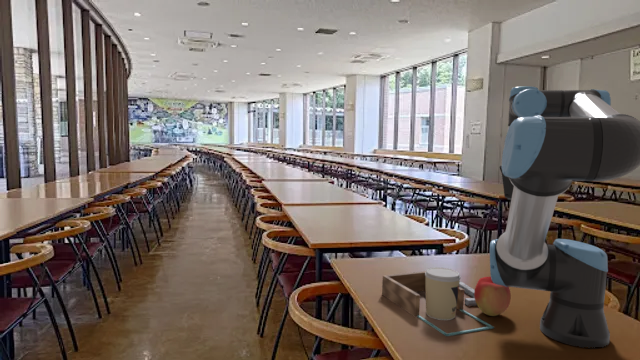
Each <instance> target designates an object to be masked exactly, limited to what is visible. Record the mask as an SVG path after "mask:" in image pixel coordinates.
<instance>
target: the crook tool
mask: <svg viewBox="0 0 640 360" xmlns="http://www.w3.org/2000/svg"><path fill="white" fill-rule="evenodd" d="M459 287H460V288H462V289H464V294H466V295H467V296H469V297H466V298H465V297H464V304H465V305H466V306H467V307H474V306H475V307H478V305H477V304H476V301H475V297H474V292H475V288H473V287H470V286H469V285H468V284H466V283H465V282H463V281H461V280H460V282H459Z"/></svg>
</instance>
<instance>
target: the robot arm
mask: <svg viewBox="0 0 640 360" xmlns="http://www.w3.org/2000/svg"><path fill="white" fill-rule="evenodd" d="M610 95H611V94H610V92H609V91H608V90H603V89H596V88H595V89H594V88H593V89H576V90H575V89H573V90H572V89H568V90H564V89H563V90H562V89H561V90H560V89H559V90H558V89H555V90H554V89H553V90H551V89H549V90H547V89H545V90H544V89H542V90H541V89H539V88H538V87H535V86H531V85H527V86H524V85H523V86H515V87H514V86H513V87H512V88H511V89H510V91H509V98H508V103H509V104H508V119H507V120H508V124H507V132H506V134H505V140H504V145H503V146H504V147H503V150H502V156H501V165H500V166H499V170H500V172H501V177H502V178H501V179H502V186H503V193H504V194H503V195H504V198H505V199H507V200H508V201H509V211H508V217H507V221H506V228H505V231H504V232H503V233H502V234H501V235H500V236H499V237H498V238H496V239H492V240H491V241H490V243H489V269H490V271H489V272H490V277H491V280H492V282H493V283H495V284H497V285H502V286H505V287H509V288H518V289H526V290H527V289H528V290H535V291H543V292H550V293H549V294H550V295H549V301H548V303H547V305H546V307H545V310H544V311H543V314H542V316H541V317H540V321H539V330H540V331H541V333H542V334H544V335H545V336H547V337H549V338H550V339H552V340H554V341H557V342H560V343H562V344H566V345H569V346H573V347H577V346H579V347H578V348H584V347H588V348H587V349H596V348H595V347H602V348H605V347H607V346H608V345H609V344H610V338H611V337H610V336H611V332H610V330H609V327H608V323H607V321H608V320H607V318H606V315H605V314H606V313H605V311H604V310H605V308H604V306H605V296H606V289H607V288H606V286H607V275H608V272H609V268H608V265H609V264H608V263H609V262H608V254H607V253H606V252H605V251H604V250H603V249H602V248H599V247H597V246H595V245H593V244H592V245H591V244H589V243H585V242H582V241H578V240H572V239H569V238H568V239H566V238H556V239H554V240H553V243H552V244H547V242H546V238H547V235H548V231H549V228H550V225H551V222H552V218H553V215H554V211H555V208H556V205H557V202H558V199H559V198H558V197H559V195H562V194H564V193H566V191H567V190H568V189H570V187H571V185H572V184H573V181H576V182H577V181H579V182H581V181H582V182H607V181H612V180H616V179H619V178H622V177H624V176H627V175H628V174H630V173H632V172H633V171H635V170H636V169H637V168H639V167H640V120H639V119H638V118H636V117H634V116H632V115H629V114H627V113H620V112H619V111H617V110H616V109H614V108H613V107H612V106H611V105H612V104H611V103H612V98H611V96H610ZM606 345H607V346H606ZM604 346H605V347H604ZM590 347H592V348H590ZM593 347H594V348H593Z"/></svg>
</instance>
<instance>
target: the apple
mask: <svg viewBox="0 0 640 360" xmlns="http://www.w3.org/2000/svg"><path fill="white" fill-rule="evenodd" d="M474 290H475V292H474V297H475V301H476V304H477V305H478V306H477V307H478V308H479V310H480V311H481V312H482V313H483V314H485V315H487V316H490V317H496V316H499V315H501V314H503V313H504V312H505V311H506V310H508V308H509V307H510V304H511V299H512V298H511V297H512V295H511V289H510V287H505V286H502V285H497V284H495V283H493V282H492V280H491V276H482V277H480V278H479V279H478V281H477V283H476V285H475V287H474Z"/></svg>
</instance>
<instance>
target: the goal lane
mask: <svg viewBox="0 0 640 360" xmlns="http://www.w3.org/2000/svg"><path fill="white" fill-rule="evenodd" d="M459 311H460V312H461V313H463V314H465V315H467V316H469V317H471V318H472V319H474V320H476V321H477V322H480V323H481V324H482V325H485V326H483V327H482V326H481V327H478V328H472V329H466V330H465V329H464V330H460V331H453V332H448V333H447V332H445V331H444V330H442V329H441V328H439V327H438V326H436V325H435V324H434V323H432V322H430V321H428V320H427V319H426V318H425V317H423V316H421V315H420V314H419V315H417V317H416V318H418V319H420V320H421V321H423V322H424V323H426V324H427V325H429V326H430V327H432V328H433V329H435V330H436V331H438V332H439V333H440V334H442V335H444V336H445V337H451V336H452V337H453V336H456V335H463V334H468V333H473V332H479V331H486V330H491V329H495V326H493V325H492V324H490V323H488V322H486V321H484V320H482V319H481V318H479V317H477V316H475V315H473V314H472V313H470V312H468V311H467V310H465V309H464V308H463V309H460V310H459Z"/></svg>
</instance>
